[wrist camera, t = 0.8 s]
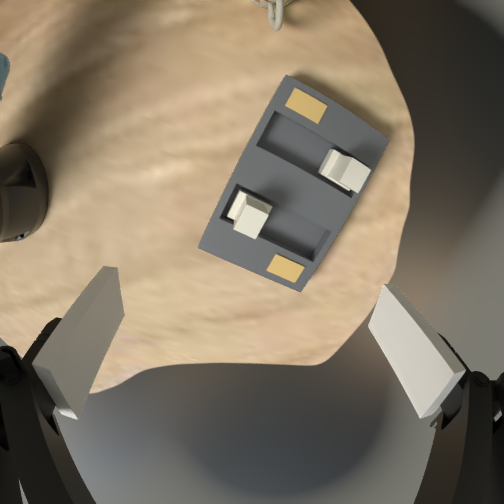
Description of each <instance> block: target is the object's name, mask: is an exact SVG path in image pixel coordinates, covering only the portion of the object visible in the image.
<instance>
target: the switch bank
mask: <svg viewBox="0 0 504 504" xmlns="http://www.w3.org/2000/svg"><path fill="white" fill-rule="evenodd" d="M389 141H390V140H389V139H388V138H387V137H385V136H384V135H383V134H381V133H380V132H379V131H377V130H376V129H375V128H373V127H372V126H370V125H369V124H368V123H366V122H365V121H363V120H362V119H360V118H359V117H357V116H356V115H354V114H353V113H351V112H350V111H348V110H347V109H345V108H344V107H342V106H341V105H339V104H338V103H336V102H334V101H333V100H331V99H329V98H328V97H326V96H324V95H323V94H321V93H319V92H318V91H316V90H314V89H312V88H311V87H309V86H307V85H305V84H303V83H302V82H300V81H298V80H296V79H294V78H292V77H290V76H288V75H285V77H284V78H283V80H282V81H281V83H280V85H279V87H278V88H277V90H276V92H275V94H274V95H273V97H272V99H271V101H270V103H269V104H268V106H267V108H266V110H265V112H264V114H263V115H262V117H261V119H260V121H259V123H258V125H257V126H256V128H255V130H254V132H253V134H252V136H251V138H250V140H249V142H248V144H247V146H246V147H245V149H244V151H243V153H242V155H241V157H240V159H239V161H238V163H237V165H236V167H235V169H234V171H233V173H232V175H231V177H230V179H229V181H228V183H227V185H226V187H225V189H224V191H223V193H222V195H221V197H220V200H219V202H218V204H217V206H216V208H215V210H214V212H213V214H212V216H211V219H210V221H209V223H208V225H207V227H206V229H205V231H204V234H203V236H202V238H201V241H200V243H199V246H198V248H199V249H201V250H203V251H206V252H208V253H210V254H213V255H215V256H217V257H219V258H222V259H224V260H226V261H228V262H231V263H233V264H235V265H238V266H240V267H242V268H245V269H247V270H249V271H252V272H254V273H256V274H258V275H261V276H263V277H265V278H268V279H270V280H272V281H275V282H277V283H280V284H282V285H284V286H287V287H289V288H291V289H294V290H296V291H298V292H301V291H302V290H303V288H304V287H305V285H306V284H307V282H308V281H309V279H310V278H311V276H312V274H313V273H314V271H315V270H316V268H317V267H318V265H319V263H320V262H321V260H322V259H323V257H324V255H325V254H326V252H327V251H328V249H329V247H330V246H331V244H332V243H333V241H334V239H335V238H336V236H337V234H338V233H339V231H340V229H341V228H342V226H343V224H344V223H345V221H346V219H347V217H348V216H349V214H350V212H351V211H352V209H353V207H354V205H355V204H356V202H357V200H358V198H359V197H360V195H361V193H362V191H363V189H364V188H365V186H366V184H367V182H368V180H369V179H370V177H371V175H372V173H373V171H374V169H375V168H376V166H377V164H378V162H379V160H380V158H381V156H382V154H383V152H384V151H385V149H386V147H387V145H388V143H389ZM330 149H334V150H336V151H337V152H339V153H341V154H342V155H344V156H348V157H353V158H354V159H356V160H357V161H359V162H360V163H362V164H363V165H365V166H366V167H368V168H369V169H370V170H371V171H370V173H369V175H368V176H367V178H366V180H365V182H364V184H363V186H362V187H361V189H360V191H359V193H357V192H355V191H353V190H351V189H350V191H348V190H346V189H345V188H343V187H341V186H340V185H338V184H336V183H335V182H333V181H331V180H330V179H328V178H326V177H325V176H323V175H321V174H319V173H318V170H319V168H320V166H321V164H322V163H323V161H324V159H325V157H326V155H327V153H328V152H329V150H330ZM239 189H242V190H244V191H246V192H248V193H250V194H252V195H254V196H256V197H258V198H260V199H263V200H265V201H267V202H269V203H271V205H272V209H271V211H270V212H269V215H268V217H267V219H266V221H265V223H264V225H263V226H262V228H261V230H260V232H259V234H258V236H257V238H256V239H253V238H251V237H249V236H247V235H245V234H243V233H240V232H238V231H236V230H234V219H231V218H229V217H227V214H228V211H229V209H230V207H231V205H232V203H233V201H234V199H235V197H236V195H237V193H238V191H239Z"/></svg>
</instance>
